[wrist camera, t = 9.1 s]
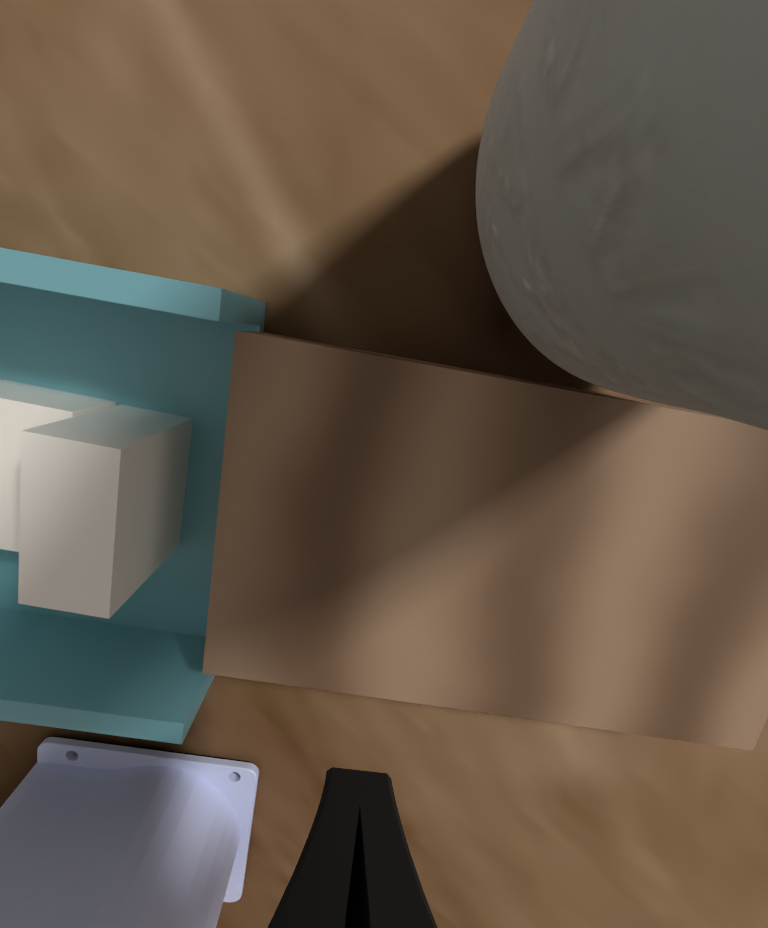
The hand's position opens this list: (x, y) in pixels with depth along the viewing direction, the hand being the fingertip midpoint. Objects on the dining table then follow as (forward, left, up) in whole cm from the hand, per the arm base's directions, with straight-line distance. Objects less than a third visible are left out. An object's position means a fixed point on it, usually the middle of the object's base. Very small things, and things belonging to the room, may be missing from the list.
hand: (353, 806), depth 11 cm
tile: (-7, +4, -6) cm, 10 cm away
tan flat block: (+5, +4, -9) cm, 11 cm away
